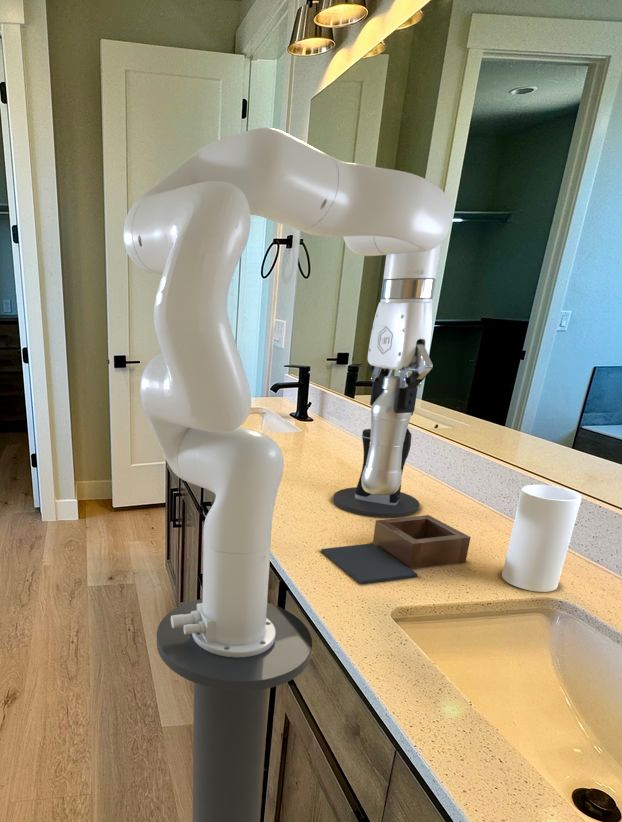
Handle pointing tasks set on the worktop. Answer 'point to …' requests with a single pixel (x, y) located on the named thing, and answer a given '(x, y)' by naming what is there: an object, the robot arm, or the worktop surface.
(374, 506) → the vape
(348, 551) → the mat
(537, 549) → the cup
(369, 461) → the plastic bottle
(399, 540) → the brown wooden box
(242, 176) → the robot arm
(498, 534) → the worktop surface
